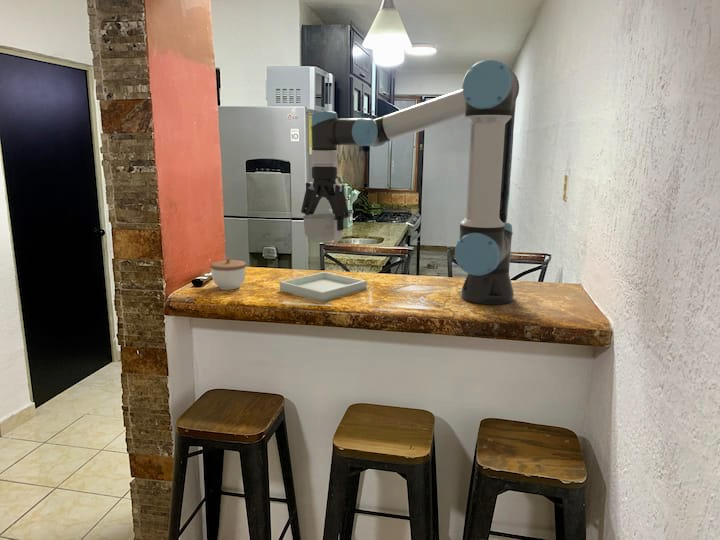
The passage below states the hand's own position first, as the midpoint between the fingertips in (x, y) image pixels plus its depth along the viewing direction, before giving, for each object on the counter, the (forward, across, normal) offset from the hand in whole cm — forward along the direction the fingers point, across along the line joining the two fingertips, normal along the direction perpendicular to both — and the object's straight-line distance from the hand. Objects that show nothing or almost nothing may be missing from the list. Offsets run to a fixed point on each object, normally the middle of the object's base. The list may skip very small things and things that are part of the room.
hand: (324, 238), depth 164 cm
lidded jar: (+16, +24, +19) cm, 34 cm away
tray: (+16, 0, 0) cm, 16 cm away
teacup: (+1, +1, 0) cm, 1 cm away
